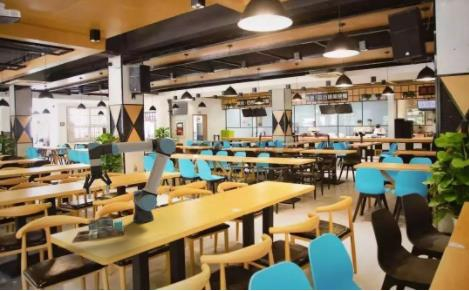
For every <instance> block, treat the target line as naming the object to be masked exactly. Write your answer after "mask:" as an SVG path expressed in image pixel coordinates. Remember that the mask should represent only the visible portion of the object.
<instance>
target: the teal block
mask: <svg viewBox="0 0 469 291" xmlns="http://www.w3.org/2000/svg"><path fill="white" fill-rule="evenodd" d="M113 226H114V230H121V229H123V226H124V224H123V220H122V219H121V220H113Z"/></svg>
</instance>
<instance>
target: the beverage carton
mask: <svg viewBox="0 0 469 291" xmlns="http://www.w3.org/2000/svg"><path fill="white" fill-rule="evenodd" d="M105 219H112V218H111V216H100V217H99V218H97V219H95V220H93V221H91V222H90V223H88V230H95V229H97V228H99V220H105Z"/></svg>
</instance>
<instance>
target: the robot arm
mask: <svg viewBox="0 0 469 291" xmlns="http://www.w3.org/2000/svg"><path fill="white" fill-rule="evenodd" d="M176 148H177V144H176V142H175V140H174V139H173V138H171V137H167V136H166V137H158V138H152V139H151V138H150V139H149V140H140V141H126V142H111V143H110V142H109V143H108V142H107V143H106V142H105V143H103V144H101V142H100V141H95V142H94V141H93V142H88V143H87V152H88V161H89V168H90V169H89V170H90V173H86V177H85V180H84V182H83V187H82V189H84V190H85V192H86V195H87V199H88V200H92V193H91V192H92V191H91V186H92V185H93V183H94V181H95V180H101V181H102V182H103V183H104V184H105V185H104V186H105V193H106V194H105V195H108V196H109V195H110V189H111V185H112V184H113V181H112V179H111V178H110V176H109V174H108V172H107V170H103V165H102V163H103V162H102V156H110V155H111V156H112V155H118V154H124V153H137V152H138V153H139V152H141V153H142V152H150V153H155V159H154V160H153V163H152V166H151V170H150V173H149V175H148V178H147V180H146V184H145V186H144V188H142V189H139V190H134V191H133V195H132V197H133V205H134V208H133V209H134V213H133V217H132V222H133V223H136V224H143V223H149V222H151V221H153V220H154V218H155V217H154V214H153V212H152V210H154V209H155V208H156V207H157V204H158V199H157V198H158V195H159V193H158V189H159V185H160V183H161V180H162V177H163V174H164V171H165V168H166V165H167V162H168V160H169V159H171V158H172V155H173V153H174V152H175V151H176Z"/></svg>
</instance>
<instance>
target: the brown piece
mask: <svg viewBox="0 0 469 291" xmlns="http://www.w3.org/2000/svg"><path fill="white" fill-rule="evenodd" d="M125 230H126V229H125V225H123V229H121V230H114V219H113V218H111V219H105V220H99V228H97V229H95V230H89V229H88V230H81V231H78V232H77V234H76V236H75V242H79V241H80V242H81V241H82V242H83V241H89V240H96V239H105V238H110V237H120V236H125Z"/></svg>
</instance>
